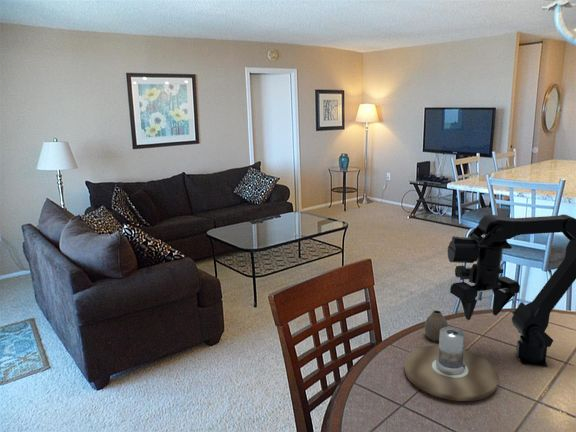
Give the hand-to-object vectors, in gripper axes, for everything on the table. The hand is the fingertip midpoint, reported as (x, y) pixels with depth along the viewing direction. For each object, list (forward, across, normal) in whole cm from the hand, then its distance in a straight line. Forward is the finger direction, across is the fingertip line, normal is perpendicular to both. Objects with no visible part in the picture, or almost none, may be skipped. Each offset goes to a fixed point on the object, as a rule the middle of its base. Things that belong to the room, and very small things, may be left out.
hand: (481, 317), depth 121 cm
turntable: (+14, +12, +4) cm, 18 cm away
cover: (+11, +12, +4) cm, 16 cm away
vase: (+14, +2, -14) cm, 20 cm away
